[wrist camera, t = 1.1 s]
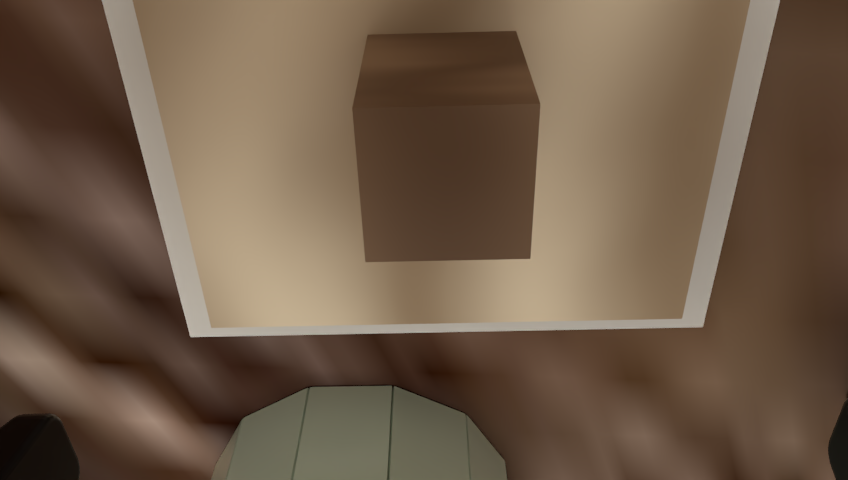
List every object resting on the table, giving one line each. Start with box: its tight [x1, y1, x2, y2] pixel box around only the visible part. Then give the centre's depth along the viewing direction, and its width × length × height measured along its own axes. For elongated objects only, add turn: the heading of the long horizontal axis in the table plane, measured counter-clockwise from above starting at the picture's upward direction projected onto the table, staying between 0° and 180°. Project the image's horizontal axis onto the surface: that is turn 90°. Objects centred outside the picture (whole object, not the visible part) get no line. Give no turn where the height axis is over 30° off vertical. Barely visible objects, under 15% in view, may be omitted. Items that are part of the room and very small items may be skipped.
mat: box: [102, 0, 780, 337], centre depth 18 cm, size 15×15×1 cm
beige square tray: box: [133, 0, 750, 328], centre depth 15 cm, size 13×13×5 cm
